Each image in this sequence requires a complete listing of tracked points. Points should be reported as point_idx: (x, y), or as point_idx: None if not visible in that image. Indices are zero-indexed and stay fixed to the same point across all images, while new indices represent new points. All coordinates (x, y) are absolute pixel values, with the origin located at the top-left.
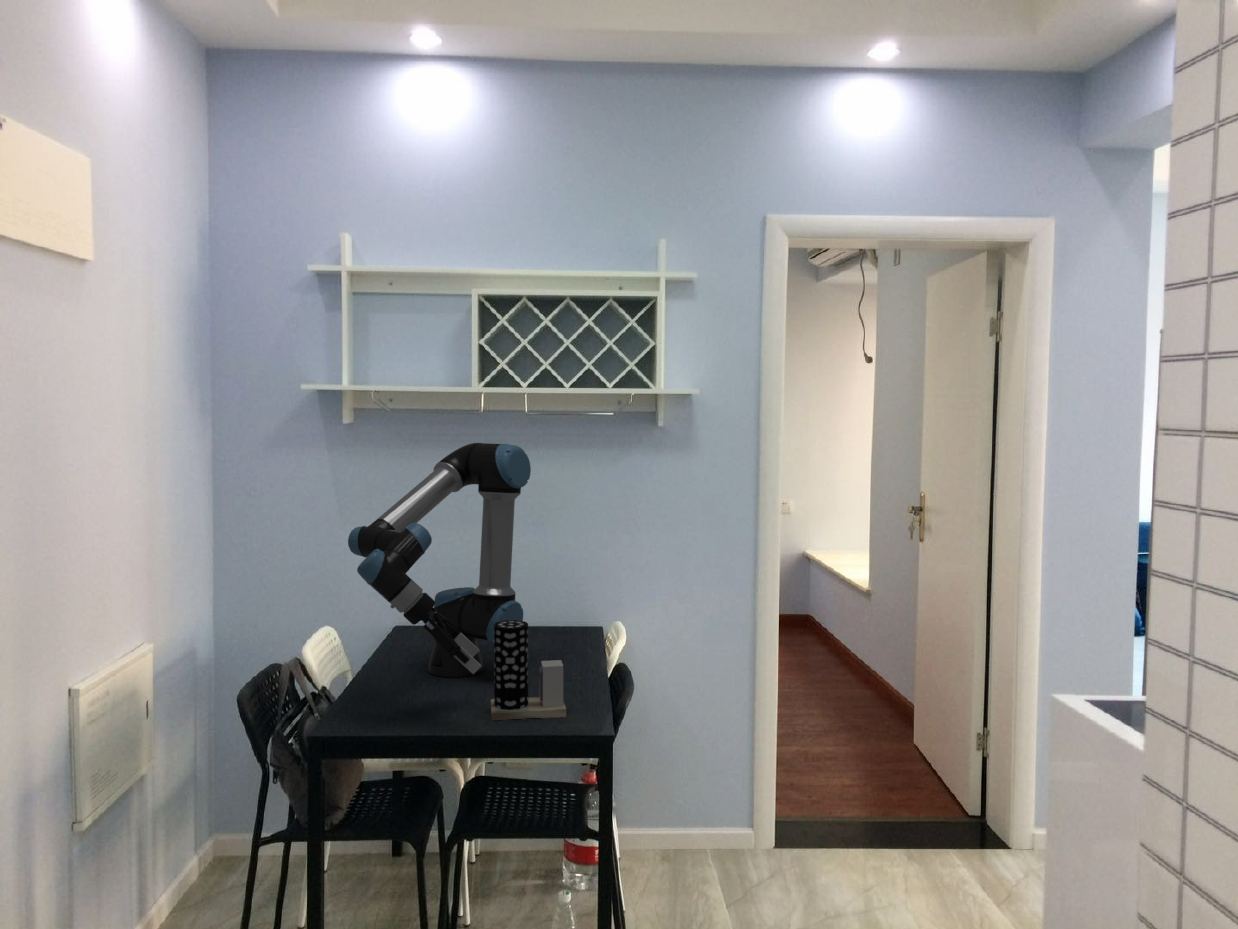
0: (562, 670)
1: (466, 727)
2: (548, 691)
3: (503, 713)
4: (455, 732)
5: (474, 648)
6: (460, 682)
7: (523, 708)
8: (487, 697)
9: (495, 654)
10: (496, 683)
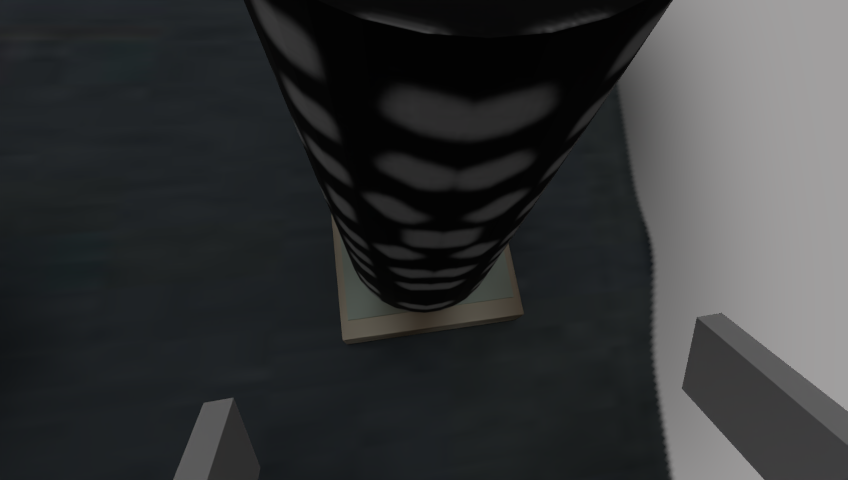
0: None
1: (593, 417)
2: None
3: (511, 266)
4: (655, 457)
5: (225, 452)
6: None
7: None
8: (210, 375)
9: (513, 210)
10: (484, 269)
